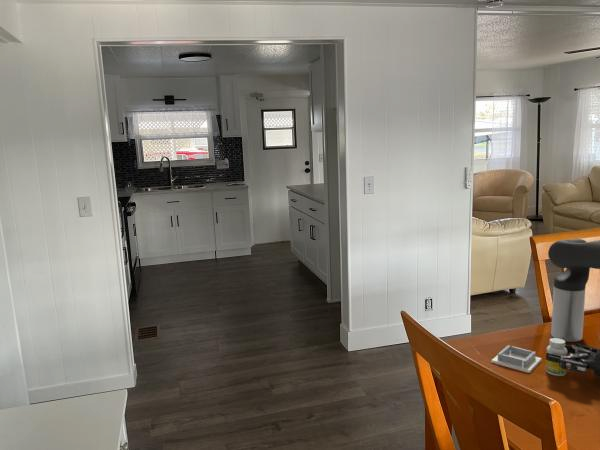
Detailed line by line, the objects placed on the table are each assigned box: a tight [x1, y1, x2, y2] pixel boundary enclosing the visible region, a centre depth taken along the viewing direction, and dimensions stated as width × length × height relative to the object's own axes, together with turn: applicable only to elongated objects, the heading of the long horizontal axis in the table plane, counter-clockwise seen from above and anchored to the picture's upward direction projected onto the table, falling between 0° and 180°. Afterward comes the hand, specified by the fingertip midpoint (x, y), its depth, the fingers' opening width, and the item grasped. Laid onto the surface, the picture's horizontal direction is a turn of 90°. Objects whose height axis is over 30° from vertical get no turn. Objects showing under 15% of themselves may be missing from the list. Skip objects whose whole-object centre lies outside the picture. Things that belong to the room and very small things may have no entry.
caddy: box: [490, 344, 543, 374], centre depth 150 cm, size 10×11×3 cm
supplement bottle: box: [545, 337, 569, 377], centre depth 142 cm, size 5×5×10 cm
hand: (551, 351), depth 142 cm, fingers open, 8 cm apart
